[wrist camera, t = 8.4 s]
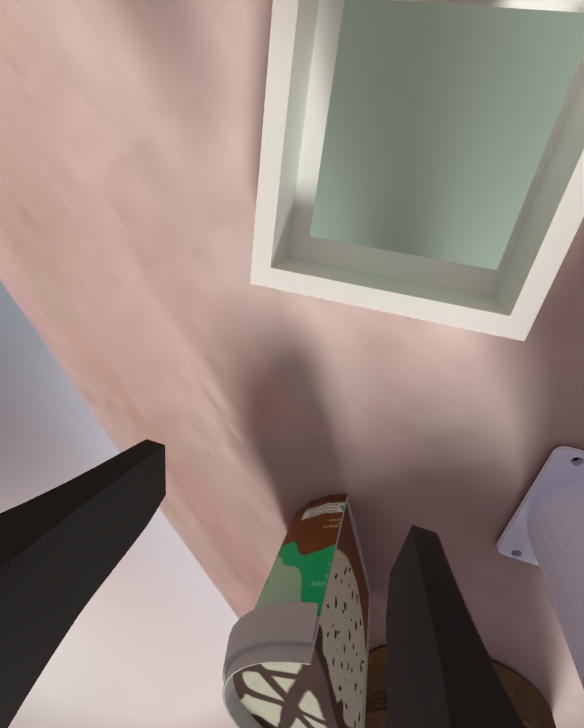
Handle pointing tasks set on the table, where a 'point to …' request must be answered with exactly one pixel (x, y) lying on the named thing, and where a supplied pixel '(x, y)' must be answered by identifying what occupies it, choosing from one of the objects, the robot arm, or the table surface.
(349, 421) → the table surface
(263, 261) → the bin
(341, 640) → the food container
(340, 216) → the green block
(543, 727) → the wooden container
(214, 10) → the table surface
